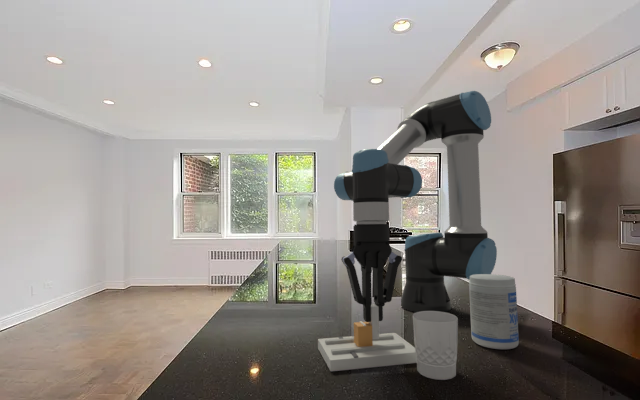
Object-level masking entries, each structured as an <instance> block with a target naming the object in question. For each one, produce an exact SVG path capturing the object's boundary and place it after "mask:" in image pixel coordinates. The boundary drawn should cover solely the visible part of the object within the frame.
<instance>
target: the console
mask: <svg viewBox="0 0 640 400" xmlns="http://www.w3.org/2000/svg"><path fill="white" fill-rule="evenodd" d="M372 342H373V346H364V347H358V346H357V345H356V344H355V343H354V335H353V336H351V335H350V336H337V337H327V338H326V337H325V338H318V339H317V349H318V351H319V353H320V355H321V356H322V359H323V360H324V362H325V365H326V366H327V367H328V369H329V371H330V372H338V371H349V370H359V369H370V368H378V367H379V368H380V367H388V366H397V365H398V366H400V365H407V364H408V365H409V364H417V358H416V357H417V356H416V353H415V346H414V345H412V344H411V343H410V342H408V341H407V340H406V339H404V338H403V337H402V336H400V335H399V334H398V333H396V332H389V333H387V332H386V333H379V339H373V340H372Z"/></svg>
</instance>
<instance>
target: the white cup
mask: <svg viewBox="0 0 640 400" xmlns="http://www.w3.org/2000/svg"><path fill="white" fill-rule="evenodd" d="M412 323H413V324H412V327H413V340H414V342H413V343H414V347H415V353H416V356H417V357H416V358H417V363H416V371H417V372H418V374H419V375H422V376H423V377H424V378H428V379H432V380H436V381H437V380H439V381H446V380H451V379H454V378H455V377H456V376H457V360H458V341H459V340H458V338H459V337H458V335H459V334H458V333H459V332H458V328H459V325H458V324H459V319H458V316H456V315H455V314H452V313H450V312H440V311H420V312H414V313H413V314H412Z"/></svg>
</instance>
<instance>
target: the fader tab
mask: <svg viewBox="0 0 640 400" xmlns="http://www.w3.org/2000/svg"><path fill="white" fill-rule="evenodd" d="M353 336H354V343H355V344H356V345H357V346H358V347H364V346H373V342H372V325H371V324H370V323H368V322H366V321H362V320H360V321H358V322H356V321H355V322H353Z"/></svg>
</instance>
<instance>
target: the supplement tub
mask: <svg viewBox="0 0 640 400" xmlns="http://www.w3.org/2000/svg"><path fill="white" fill-rule="evenodd" d="M468 281H469V282H468V287H469V289H468V290H469V291H468V293H469V310H470V313H469V314H470V332H471V333H470V334H471V339H472V341H473V342H474V343H475V344H477V345H479V346H481V347H483V348H488V349H495V350H511V349H515V348H517V347H518V346H519V344H520V341H519V340H520V338H519V337H520V336H519V319H518V318H519V316H518V303H517V302H518V301H517V299H518V298H517V287H516V285H517V284H516V280H515V278H514V276H511V275H504V274H494V273H493V274H492V273H491V274H475V275H471V276H470V280H468Z"/></svg>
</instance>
